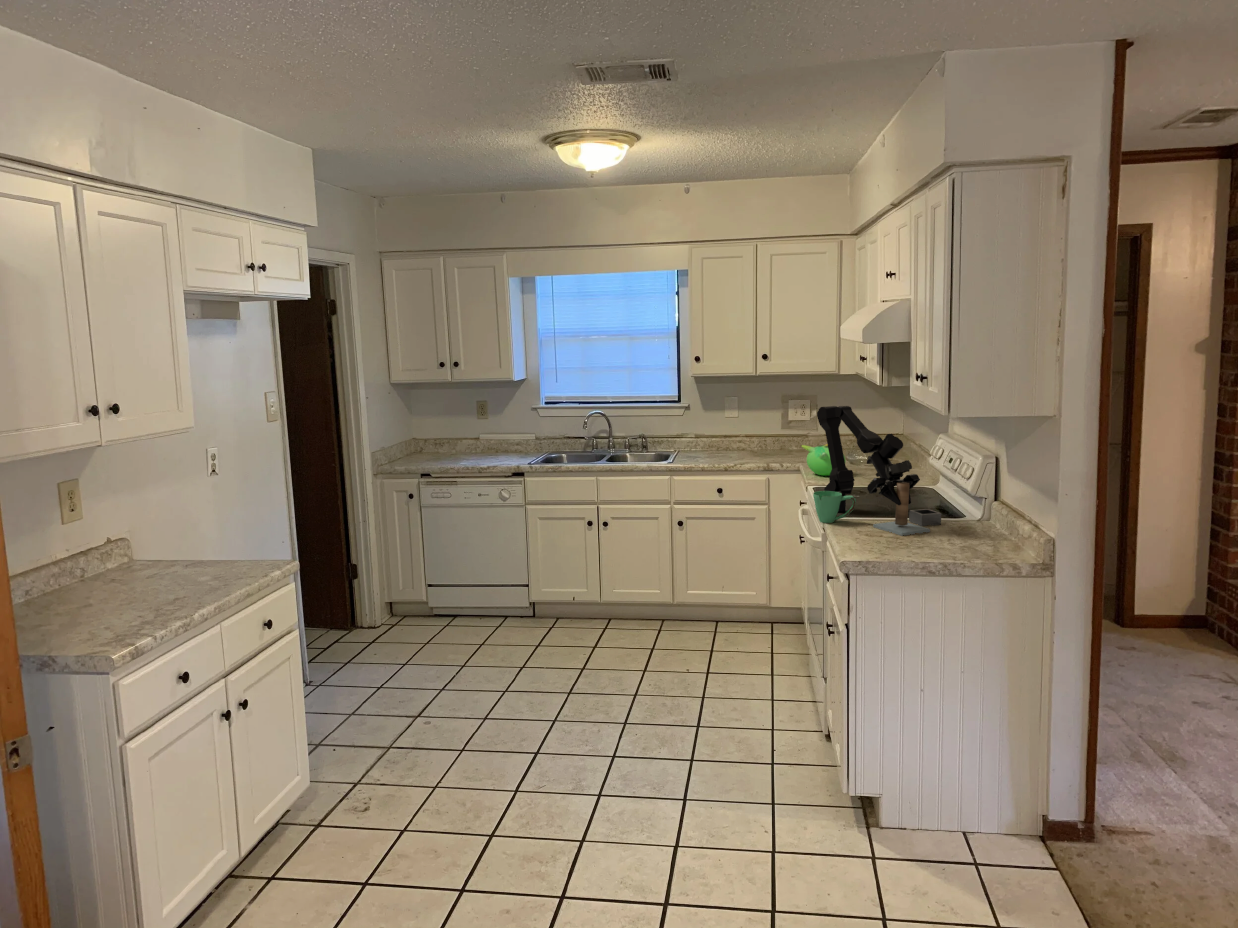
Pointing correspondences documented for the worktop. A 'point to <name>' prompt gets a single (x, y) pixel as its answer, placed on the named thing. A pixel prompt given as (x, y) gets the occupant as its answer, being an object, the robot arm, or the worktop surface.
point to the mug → (830, 505)
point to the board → (901, 528)
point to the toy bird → (819, 459)
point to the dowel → (902, 504)
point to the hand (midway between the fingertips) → (905, 504)
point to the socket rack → (925, 517)
